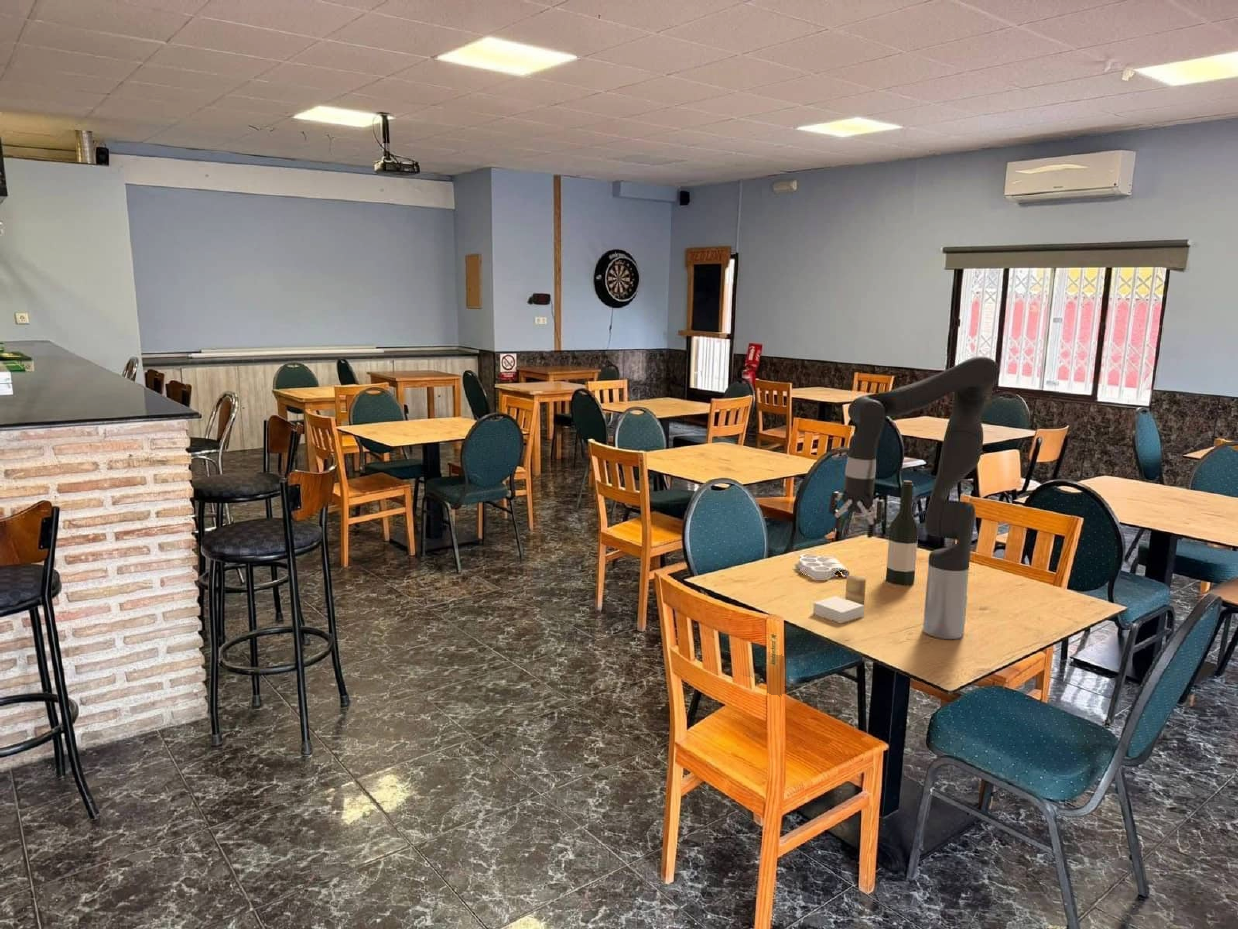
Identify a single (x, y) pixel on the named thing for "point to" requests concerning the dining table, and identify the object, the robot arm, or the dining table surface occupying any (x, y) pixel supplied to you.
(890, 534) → the wine bottle
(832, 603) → the white base
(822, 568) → the white holed flat part
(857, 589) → the ochre cylinder
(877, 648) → the dining table surface
